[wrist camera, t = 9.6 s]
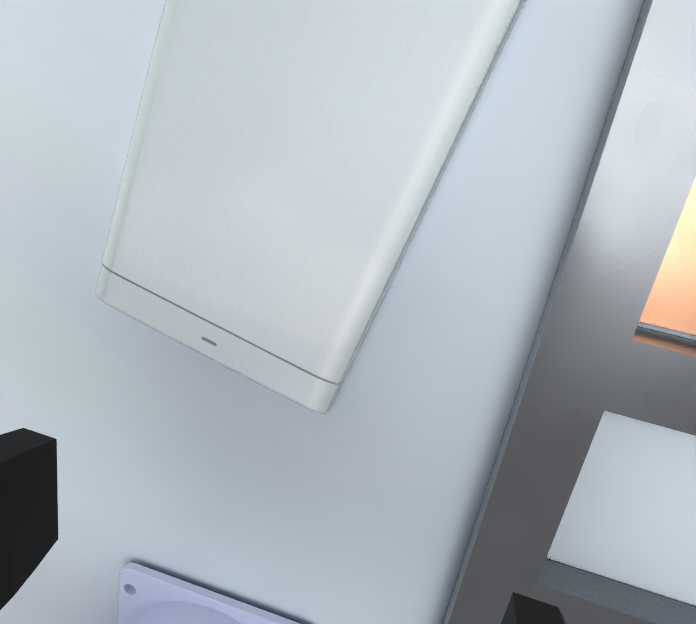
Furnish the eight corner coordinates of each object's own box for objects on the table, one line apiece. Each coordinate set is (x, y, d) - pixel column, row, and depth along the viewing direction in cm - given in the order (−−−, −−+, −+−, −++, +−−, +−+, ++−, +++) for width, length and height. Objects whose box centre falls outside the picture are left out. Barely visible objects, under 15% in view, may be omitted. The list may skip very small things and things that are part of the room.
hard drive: (198, -170, 14) (86, 297, 19) (535, -24, 13) (322, 421, 18) (230, -145, 15) (118, 282, 20) (533, -12, 14) (338, 396, 19)
